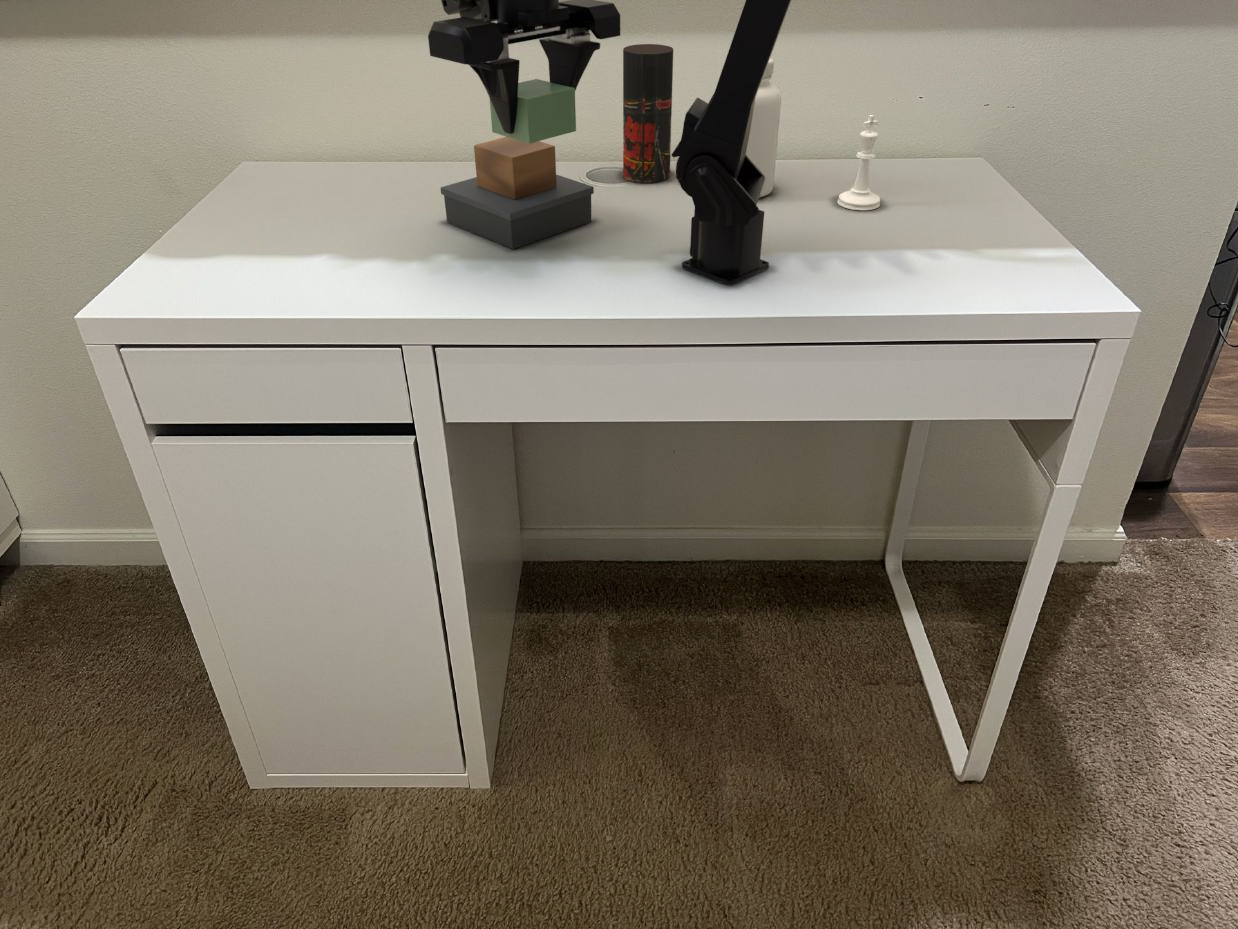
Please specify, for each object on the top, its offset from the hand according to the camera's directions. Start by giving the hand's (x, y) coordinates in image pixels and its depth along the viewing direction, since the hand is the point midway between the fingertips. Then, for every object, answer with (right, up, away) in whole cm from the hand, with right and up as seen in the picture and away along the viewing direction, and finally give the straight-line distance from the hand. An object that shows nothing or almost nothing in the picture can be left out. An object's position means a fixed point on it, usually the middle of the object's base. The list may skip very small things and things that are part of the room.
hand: (534, 126), depth 89 cm
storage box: (-3, -5, +15) cm, 16 cm away
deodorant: (+12, +4, +28) cm, 31 cm away
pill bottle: (+23, +1, +23) cm, 33 cm away
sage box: (0, 0, 0) cm, 0 cm away
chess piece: (+36, -2, +19) cm, 41 cm away
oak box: (-3, -2, +12) cm, 13 cm away
